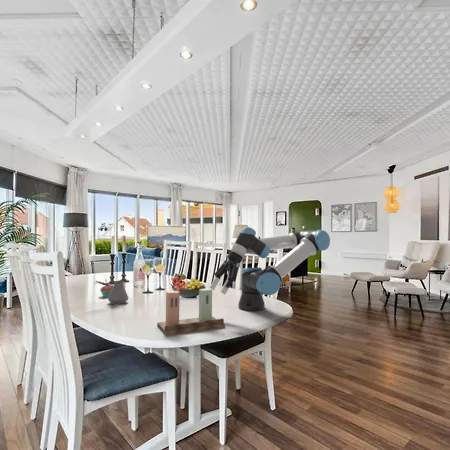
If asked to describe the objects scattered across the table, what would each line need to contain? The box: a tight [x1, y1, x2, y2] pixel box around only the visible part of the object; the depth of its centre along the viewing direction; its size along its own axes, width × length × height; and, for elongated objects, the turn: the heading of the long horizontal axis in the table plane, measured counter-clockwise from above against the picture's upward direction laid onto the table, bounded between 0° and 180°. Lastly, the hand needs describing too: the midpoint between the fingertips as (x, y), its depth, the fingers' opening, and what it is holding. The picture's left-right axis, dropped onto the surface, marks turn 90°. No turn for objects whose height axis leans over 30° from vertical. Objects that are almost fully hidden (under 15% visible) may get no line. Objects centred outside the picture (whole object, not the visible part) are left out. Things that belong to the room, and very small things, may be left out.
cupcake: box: [100, 278, 113, 298], centre depth 199 cm, size 9×8×12 cm
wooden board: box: [156, 316, 226, 337], centre depth 136 cm, size 27×15×4 cm, turn 116°
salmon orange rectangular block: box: [165, 290, 181, 325], centre depth 135 cm, size 5×4×14 cm
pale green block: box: [198, 287, 213, 321], centre depth 142 cm, size 5×4×14 cm
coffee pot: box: [94, 280, 129, 305], centre depth 177 cm, size 21×12×15 cm, turn 145°
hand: (216, 291), depth 149 cm, fingers open, 13 cm apart
